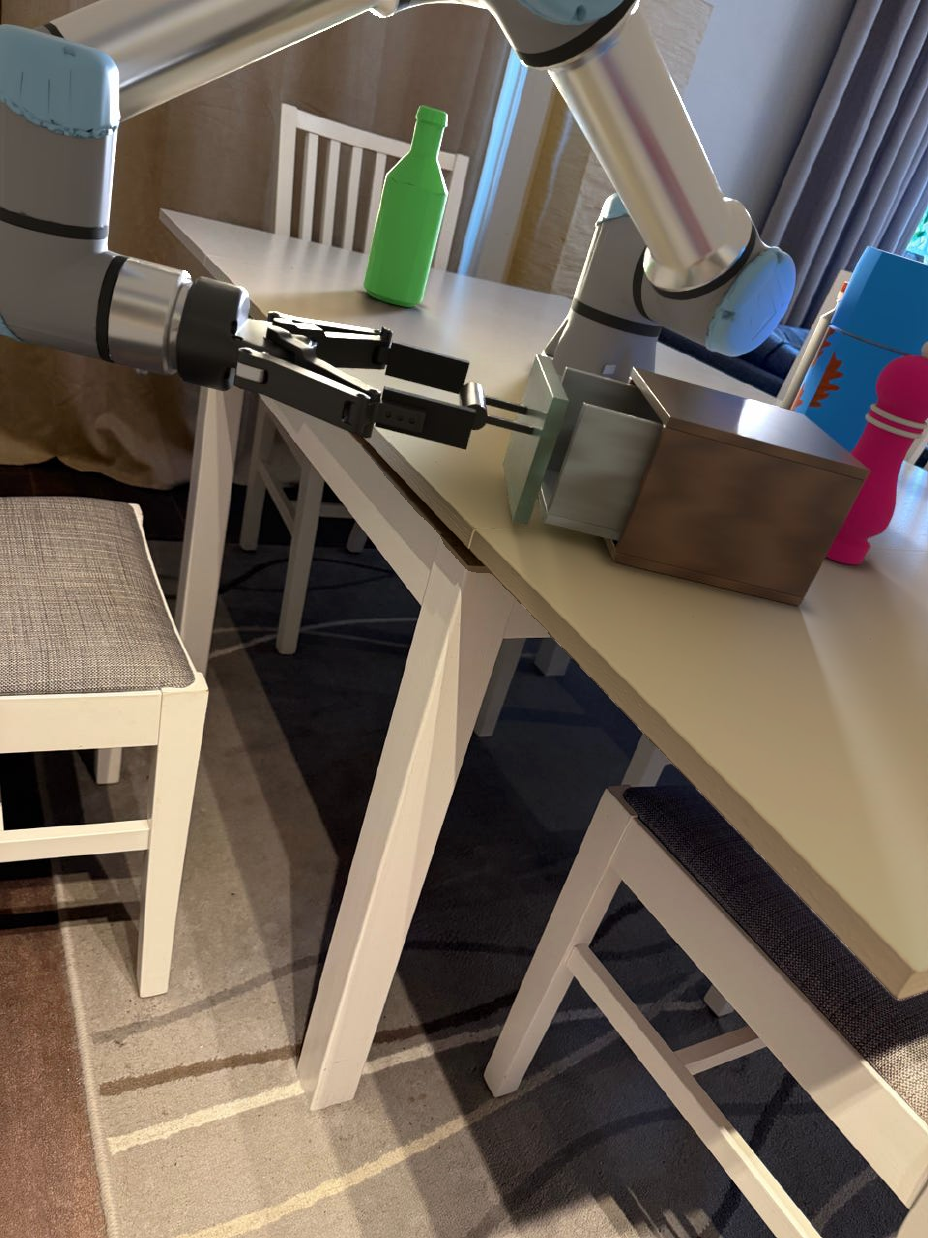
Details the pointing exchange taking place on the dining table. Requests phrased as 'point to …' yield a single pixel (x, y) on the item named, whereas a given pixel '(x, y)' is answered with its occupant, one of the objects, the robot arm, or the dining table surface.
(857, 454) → the pepper mill
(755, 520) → the drawer box
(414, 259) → the bottle
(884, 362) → the blue carton
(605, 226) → the robot arm
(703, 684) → the dining table surface
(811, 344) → the vinegar
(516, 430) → the drawer
